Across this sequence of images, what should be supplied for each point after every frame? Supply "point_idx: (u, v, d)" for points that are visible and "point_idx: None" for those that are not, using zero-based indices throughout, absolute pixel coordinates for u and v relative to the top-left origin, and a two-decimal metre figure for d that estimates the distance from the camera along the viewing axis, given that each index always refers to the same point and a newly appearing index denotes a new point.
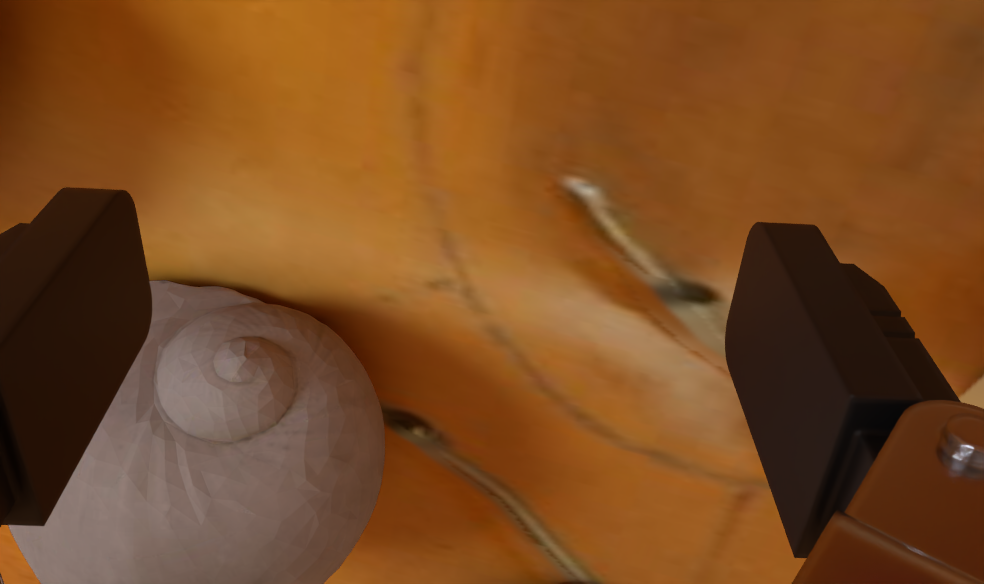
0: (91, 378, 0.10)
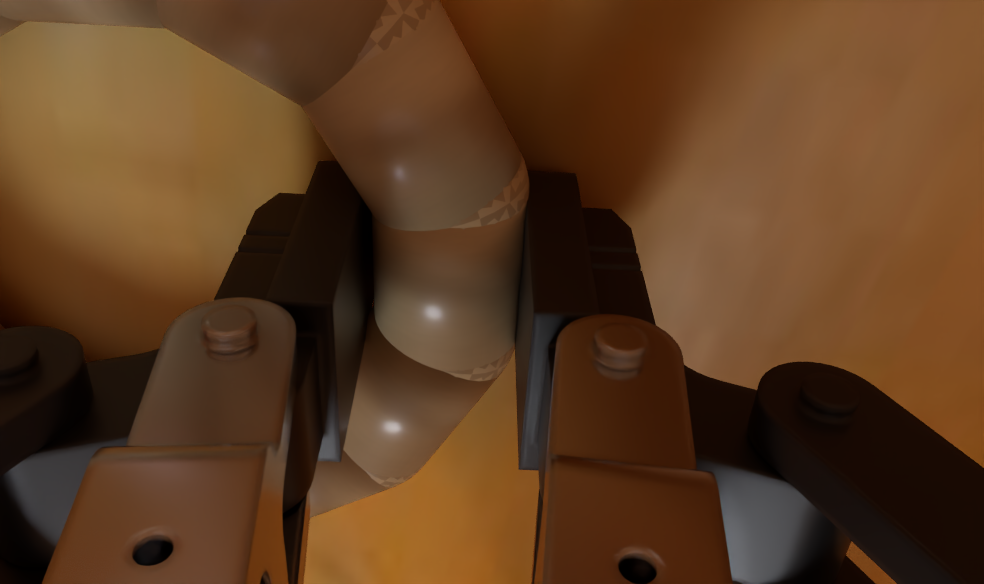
0: (357, 332, 0.11)
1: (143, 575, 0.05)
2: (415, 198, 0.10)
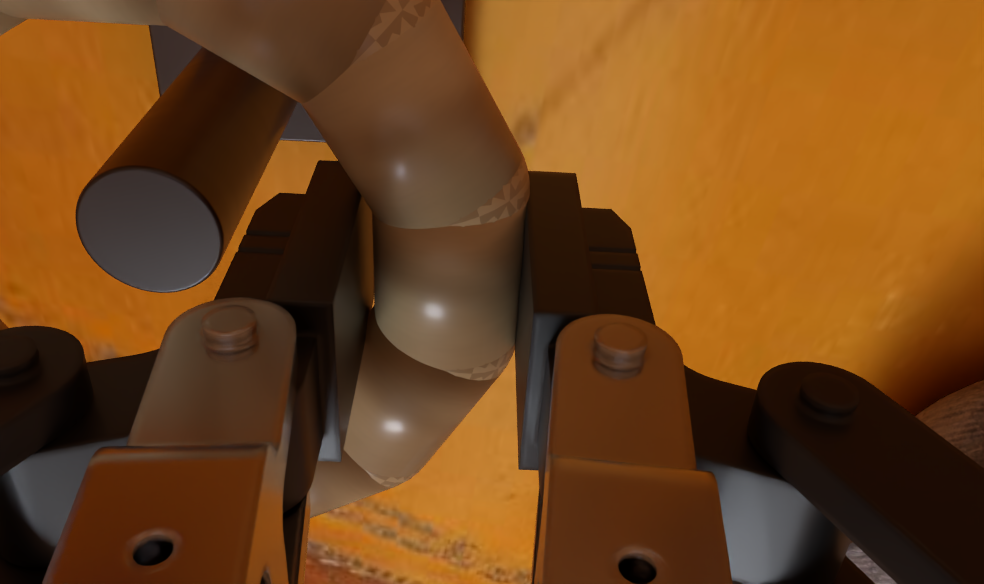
0: (357, 332, 0.11)
1: (143, 575, 0.05)
2: (414, 196, 0.10)
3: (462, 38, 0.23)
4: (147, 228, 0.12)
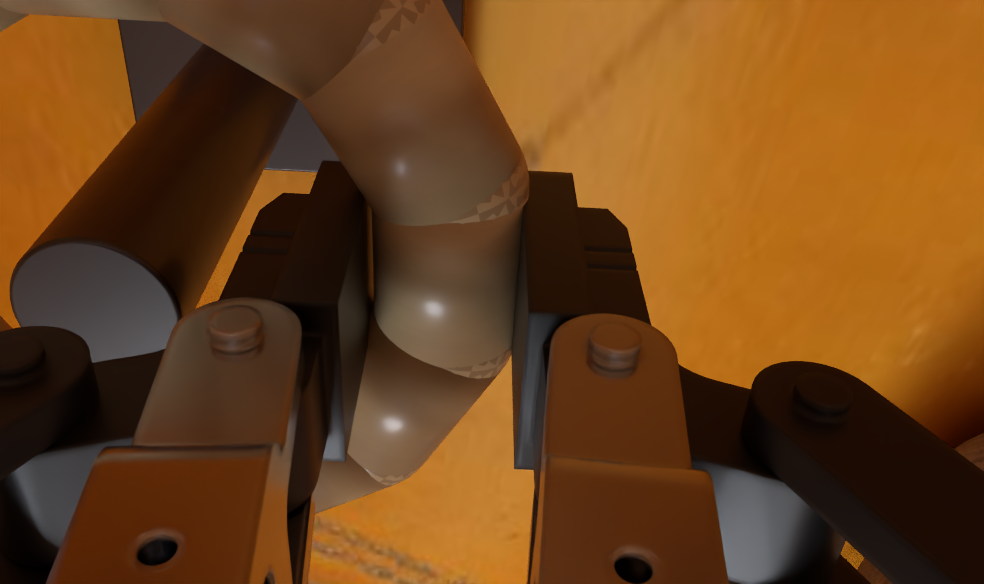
0: (361, 332, 0.11)
1: (147, 575, 0.05)
2: (413, 193, 0.10)
3: None
4: (93, 307, 0.11)
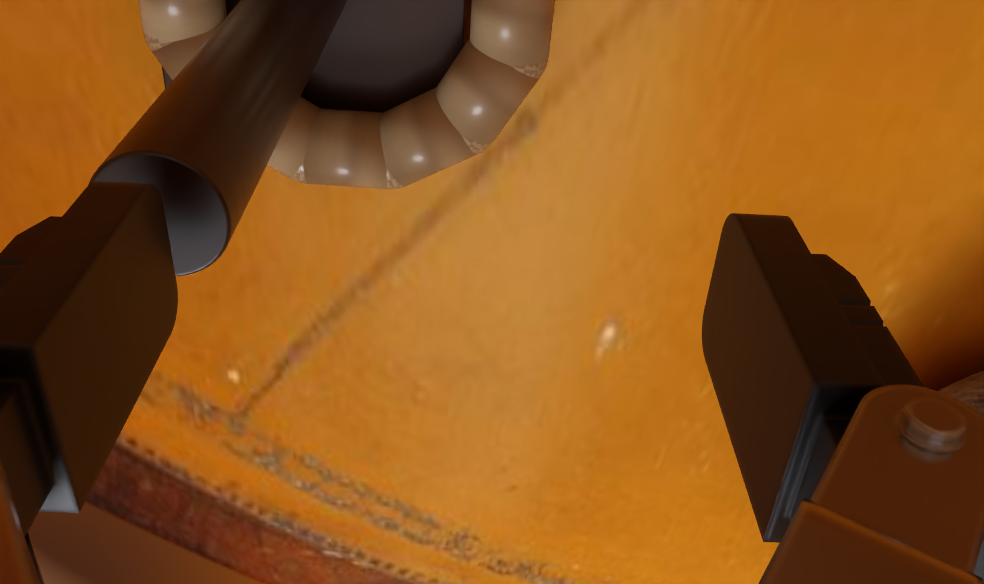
0: (121, 368, 0.10)
1: None
2: None
3: (464, 32, 0.23)
4: None
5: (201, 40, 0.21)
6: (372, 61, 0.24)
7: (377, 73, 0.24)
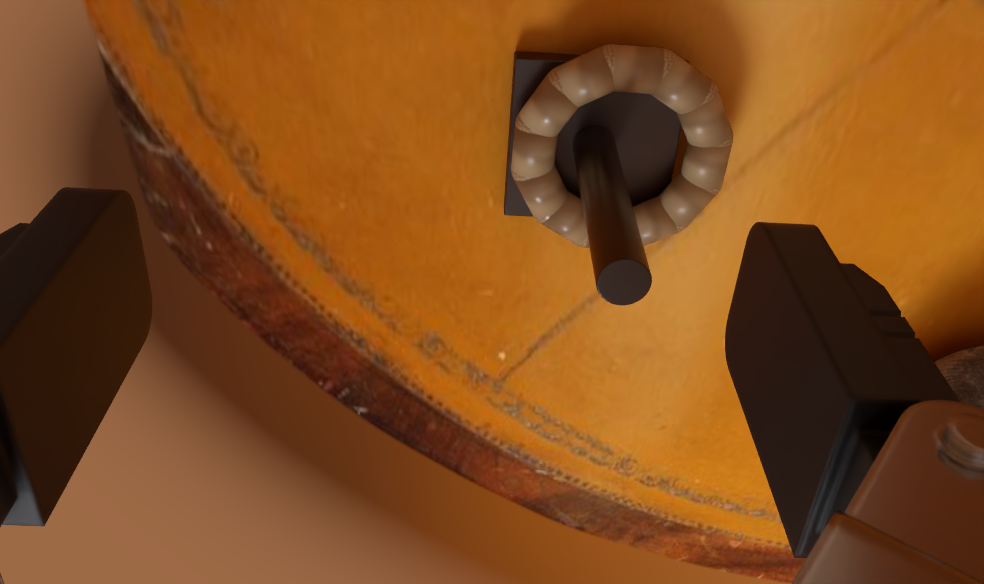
0: (91, 378, 0.10)
1: None
2: (708, 138, 0.40)
3: (673, 166, 0.43)
4: (624, 281, 0.32)
5: (546, 176, 0.41)
6: None
7: None
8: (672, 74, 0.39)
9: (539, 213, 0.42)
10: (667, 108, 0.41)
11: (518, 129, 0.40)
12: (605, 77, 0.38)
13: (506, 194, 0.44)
